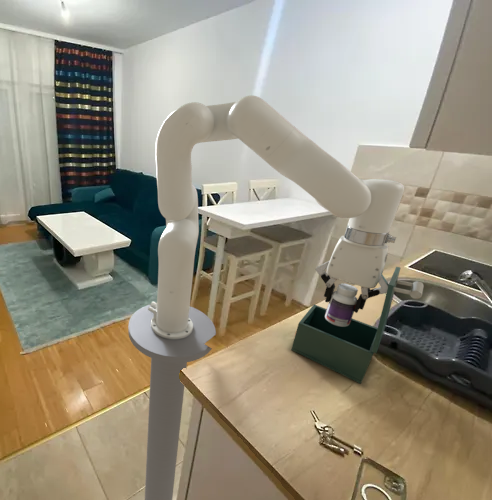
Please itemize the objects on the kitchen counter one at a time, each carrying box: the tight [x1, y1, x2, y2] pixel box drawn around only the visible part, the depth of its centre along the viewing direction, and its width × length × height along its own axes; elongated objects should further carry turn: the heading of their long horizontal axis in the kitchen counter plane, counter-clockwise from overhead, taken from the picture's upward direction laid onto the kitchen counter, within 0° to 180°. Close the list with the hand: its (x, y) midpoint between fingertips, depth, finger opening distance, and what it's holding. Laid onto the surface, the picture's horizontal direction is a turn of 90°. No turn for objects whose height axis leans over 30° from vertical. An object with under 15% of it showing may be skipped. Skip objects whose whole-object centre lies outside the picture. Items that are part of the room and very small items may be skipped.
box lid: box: [372, 266, 424, 354], centre depth 64 cm, size 16×13×5 cm
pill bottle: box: [325, 283, 359, 327], centre depth 71 cm, size 5×5×10 cm
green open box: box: [290, 304, 378, 385], centre depth 75 cm, size 16×13×9 cm
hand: (342, 304), depth 71 cm, fingers closed on pill bottle, 5 cm apart
